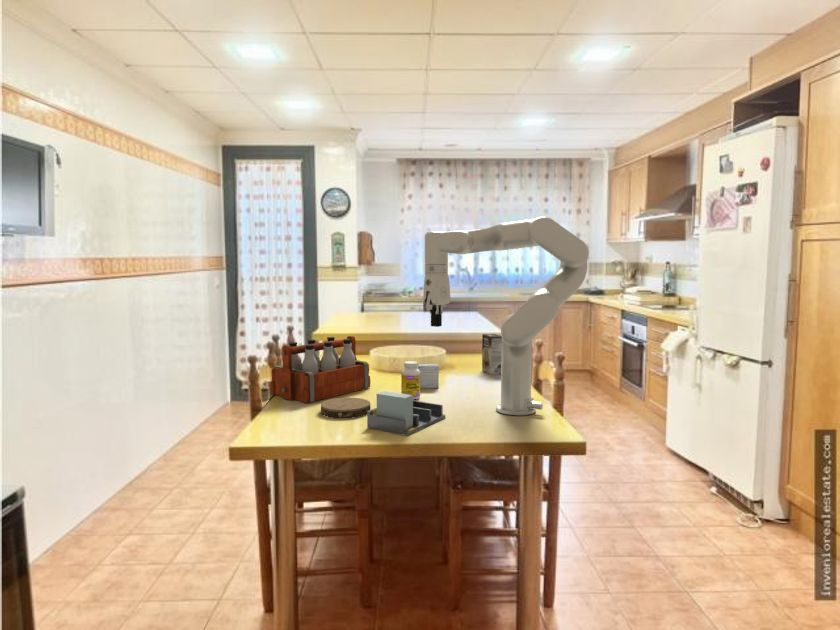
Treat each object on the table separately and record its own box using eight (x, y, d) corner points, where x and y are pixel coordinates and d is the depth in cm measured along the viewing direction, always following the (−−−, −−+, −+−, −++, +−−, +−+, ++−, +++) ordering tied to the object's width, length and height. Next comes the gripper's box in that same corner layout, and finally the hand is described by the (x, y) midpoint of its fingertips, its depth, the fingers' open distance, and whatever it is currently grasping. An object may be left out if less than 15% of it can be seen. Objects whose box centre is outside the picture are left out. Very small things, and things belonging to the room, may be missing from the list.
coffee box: (481, 370, 255) (481, 333, 253) (494, 369, 257) (495, 333, 255) (490, 374, 246) (490, 336, 245) (503, 373, 248) (504, 336, 247)
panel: (413, 425, 168) (412, 395, 167) (405, 429, 165) (405, 398, 164) (384, 420, 173) (384, 391, 173) (376, 423, 170) (376, 393, 169)
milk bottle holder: (264, 396, 209) (263, 343, 207) (338, 380, 236) (337, 333, 234) (301, 406, 195) (300, 349, 193) (375, 388, 222) (374, 337, 220)
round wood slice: (324, 406, 195) (324, 397, 195) (372, 406, 196) (372, 397, 195) (316, 419, 180) (316, 409, 179) (368, 419, 180) (368, 409, 179)
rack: (445, 417, 180) (445, 402, 179) (407, 435, 162) (407, 418, 162) (407, 411, 187) (407, 396, 187) (367, 427, 170) (367, 411, 169)
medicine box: (438, 385, 225) (438, 363, 224) (438, 388, 220) (438, 366, 219) (417, 386, 224) (417, 364, 224) (417, 388, 220) (417, 366, 219)
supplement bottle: (403, 401, 201) (403, 364, 200) (399, 396, 207) (399, 361, 206) (422, 399, 203) (422, 363, 202) (417, 395, 209) (417, 360, 208)
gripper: (434, 270, 180) (434, 329, 182) (457, 269, 192) (457, 324, 194) (413, 270, 184) (414, 327, 186) (438, 269, 196) (438, 323, 198)
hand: (436, 326), depth 190 cm, fingers closed
